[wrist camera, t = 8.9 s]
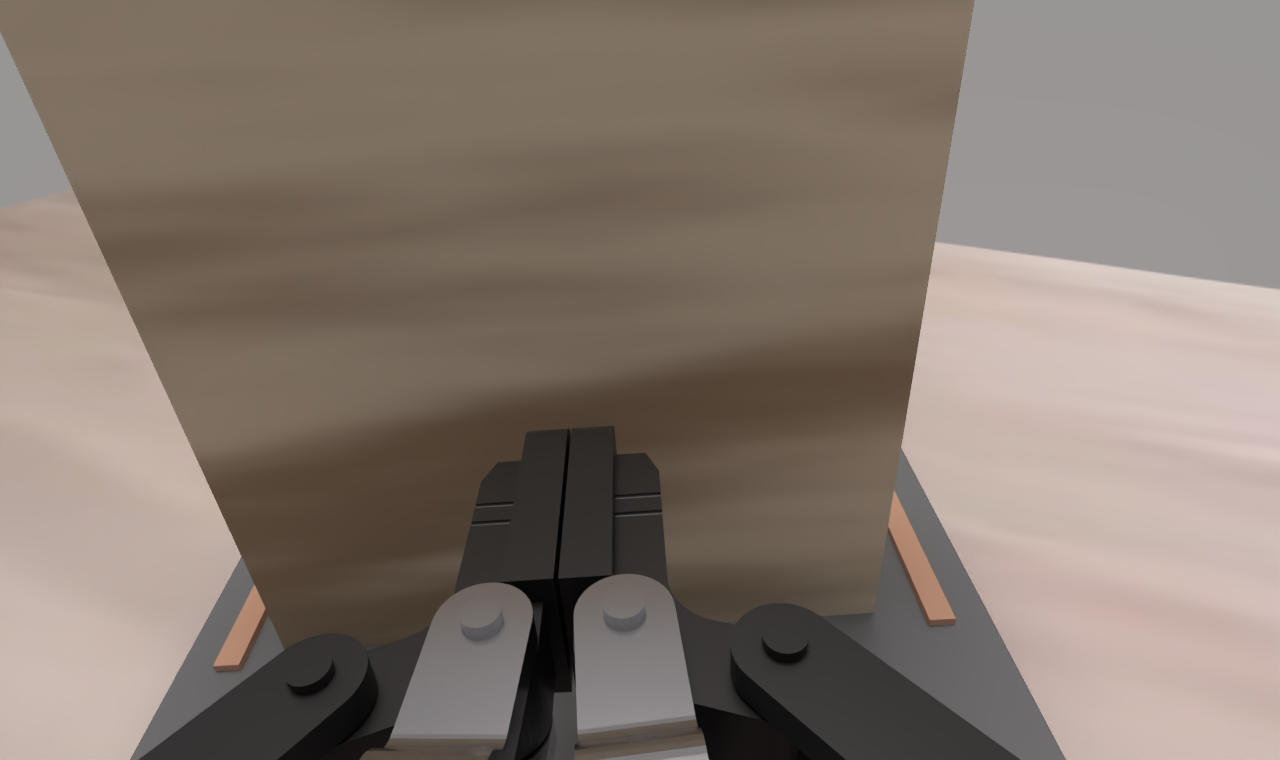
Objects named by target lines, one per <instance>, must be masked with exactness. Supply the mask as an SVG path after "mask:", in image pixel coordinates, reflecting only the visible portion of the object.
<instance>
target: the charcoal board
mask: <svg viewBox="0 0 1280 760" xmlns="http://www.w3.org/2000/svg"><path fill="white" fill-rule="evenodd" d="M821 617H822V618H824V619H825V620H827V621H828V622H829V623H831V624H832V625H834V626H835V627H836V628H838V629H839V630H841V631H842V632H843V633H845V634H846V635H847V636H849V637H850V638H852V639H853V640H854V641H856V642H857V643H859V644H860V645H861V646H863V647H864V648H866V649H867V650H868V651H870V652H871V653H873V654H874V655H875V656H877V657H878V658H880V659H881V660H882V661H884V662H885V663H887V664H888V665H889V666H891V667H892V668H893V669H895V670H896V671H898V672H899V673H900V674H902V675H903V676H905V677H906V678H907V679H909V680H910V681H912V682H913V683H914V684H916V685H917V686H919V687H920V688H921V689H923V690H924V691H926V692H927V693H928V694H930V695H931V696H933V697H934V698H935V699H937V700H938V701H939V702H941V703H942V704H944V705H945V706H946V707H948V708H949V709H951V710H952V711H953V712H955V713H956V714H958V715H959V716H960V717H962V718H963V719H965V720H966V721H967V722H969V723H970V724H972V725H973V726H974V727H976V728H977V729H979V730H980V731H981V732H983V733H984V734H985V735H987V736H988V737H990V738H991V739H992V740H994V741H995V742H997V743H998V744H999V745H1001V746H1002V747H1004V748H1005V749H1006V750H1008V751H1009V752H1011V753H1012V754H1013V755H1015V756H1016V757H1018V758H1019V759H1020V760H1066V759H1065V757H1064V755H1063V753H1062V752H1061V750H1060V748H1059V746H1058V744H1057V742H1056V740H1055V738H1054V736H1053V735H1052V733H1051V731H1050V729H1049V727H1048V725H1047V723H1046V721H1045V719H1044V718H1043V716H1042V714H1041V712H1040V710H1039V708H1038V706H1037V704H1036V702H1035V700H1034V699H1033V697H1032V695H1031V693H1030V691H1029V689H1028V687H1027V685H1026V683H1025V682H1024V680H1023V678H1022V676H1021V674H1020V672H1019V670H1018V668H1017V666H1016V665H1015V663H1014V661H1013V659H1012V657H1011V655H1010V653H1009V651H1008V649H1007V647H1006V646H1005V644H1004V642H1003V640H1002V638H1001V636H1000V634H999V632H998V630H997V629H996V627H995V625H994V623H993V621H992V619H991V617H990V615H989V613H988V612H987V610H986V608H985V606H984V604H983V602H982V600H981V598H980V596H979V595H978V593H977V591H976V589H975V587H974V585H973V583H972V581H971V579H970V577H969V576H968V574H967V572H966V570H965V568H964V566H963V564H962V562H961V560H960V559H959V557H958V555H957V553H956V551H955V549H954V547H953V545H952V543H951V542H950V540H949V538H948V536H947V534H946V532H945V530H944V528H943V526H942V524H941V523H940V521H939V519H938V517H937V515H936V513H935V511H934V509H933V507H932V506H931V504H930V502H929V500H928V498H927V496H926V494H925V492H924V490H923V489H922V487H921V485H920V483H919V481H918V479H917V477H916V475H915V473H914V472H913V470H912V468H911V466H910V464H909V462H908V460H907V458H906V456H905V454H904V453H903V451H902V449H901V451H900V457H899V463H898V469H897V475H896V481H895V487H894V493H893V499H892V505H891V512H890V518H889V524H888V530H887V536H886V542H885V548H884V554H883V560H882V566H881V572H880V578H879V584H878V591H877V597H876V603H875V609H874V613H863V614H848V615H833V616H821ZM727 623H729V624H734V625H735V624H736V623H737V622H727ZM380 646H383V645H379V646H364V648H365V649H366V651H368V650H371V649H374V648H377V647H380ZM283 651H284V647H283V645H282V643H281V641H280V639H279V637H278V634H277V632H276V630H275V628H274V626H273V623H272V621H271V619H270V617H269V615H268V613H267V610H266V608H265V606H264V604H263V602H262V600H261V597H260V595H259V593H258V591H257V589H256V587H255V584H254V582H253V580H252V578H251V576H250V573H249V571H248V569H247V567H246V565H245V563H244V560H243V558H242V557H241V559H240V561H239V562H238V564H237V566H236V568H235V570H234V571H233V573H232V575H231V577H230V579H229V581H228V582H227V584H226V586H225V588H224V590H223V592H222V593H221V595H220V597H219V599H218V601H217V602H216V604H215V606H214V608H213V610H212V612H211V613H210V615H209V617H208V619H207V621H206V622H205V624H204V626H203V628H202V630H201V632H200V633H199V635H198V637H197V639H196V641H195V643H194V644H193V646H192V648H191V650H190V652H189V653H188V655H187V657H186V659H185V661H184V663H183V664H182V666H181V668H180V670H179V672H178V673H177V675H176V677H175V679H174V681H173V683H172V684H171V686H170V688H169V690H168V692H167V694H166V695H165V697H164V699H163V701H162V703H161V704H160V706H159V708H158V710H157V712H156V714H155V715H154V717H153V719H152V721H151V723H150V724H149V726H148V728H147V730H146V732H145V734H144V735H143V737H142V739H141V741H140V743H139V745H138V746H137V748H136V750H135V752H134V754H133V755H132V757H131V759H130V760H139V759H140V758H141V757H143V756H144V755H145V754H147V753H148V752H149V751H151V750H152V749H153V748H155V747H156V746H157V745H159V744H160V743H161V742H163V741H164V740H165V739H167V738H168V737H169V736H171V735H172V734H173V733H175V732H176V731H177V730H179V729H180V728H181V727H183V726H184V725H185V724H187V723H188V722H189V721H191V720H192V719H193V718H195V717H196V716H197V715H199V714H200V713H201V712H203V711H204V710H205V709H207V708H208V707H209V706H211V705H212V704H213V703H215V702H216V701H217V700H219V699H220V698H221V697H223V696H224V695H225V694H227V693H228V692H229V691H231V690H232V689H233V688H235V687H236V686H237V685H239V684H240V683H241V682H243V681H244V680H245V679H247V678H248V677H249V676H251V675H252V674H253V673H255V672H256V671H257V670H259V669H260V668H261V667H263V666H264V665H265V664H267V663H268V662H269V661H271V660H272V659H273V658H275V657H276V656H277V655H279V654H280V653H281V652H283ZM553 720H554V725H555V730H556V737H557V741H556V750H555V757H554V760H574V747H575V744H577V742H578V733H577V703H576V687H575V680H574V674H573V681H572V692H561V693H554V702H553Z"/></svg>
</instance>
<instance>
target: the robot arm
mask: <svg viewBox="0 0 1280 760" xmlns="http://www.w3.org/2000/svg"><path fill="white" fill-rule="evenodd" d="M471 524H472V525H471V526H470V529H469V533H468V537H467V541H466V545H465V550H464V554H463V558H462V562H461V566H460V570H459V574H458V578H457V582H456V587H455V591H454V594H453V596H451V597H450V598H449V599H448V600H446V601H445V602H444V603H443V604H442V605H441V606H440V608H439V609H438V611H437V612H436V613H435V615H434V618H433V620H432V622H431V624H430V625H429V626H427V627H426V628H424V629H423V630H421V631H419V632H417V633H415V634H413V635H411V636H409V637H407V638H404V639H401V640H398V641H395V642H392V643H389V644H386V645H383V646H380V647H377V648H374V649H371V650H368V651H366V649H365V648H364V646H363V644H362V643H360V642H359V641H358V640H357V639H355V638H353V637H352V636H349V635H345V634H339V633H327V634H320V635H316V636H312V637H309V638H306V639H304V640H301V641H299V642H297V643H295V644H294V645H292V646H290V647H289V648H287V649H286V650H284V651H283V652H281V653H280V654H279V655H277V656H276V657H275V658H273V659H272V660H271V661H269V662H268V663H267V664H265V665H264V666H263V667H261V668H260V669H259V670H257V671H256V672H255V673H253V674H252V675H251V676H249V677H248V678H247V679H245V680H244V681H243V682H241V683H240V684H239V685H237V686H236V687H235V688H233V689H232V690H231V691H229V692H228V693H227V694H225V695H224V696H223V697H221V698H220V699H219V700H217V701H216V702H215V703H213V704H212V705H211V706H209V707H208V708H207V709H205V710H204V711H203V712H201V713H200V714H199V715H197V716H196V717H195V718H193V719H192V720H191V721H189V722H188V723H187V724H185V725H184V726H183V727H181V728H180V729H179V730H177V731H176V732H175V733H173V734H172V735H171V736H169V737H168V738H167V739H165V740H164V741H163V742H161V743H160V744H159V745H157V746H156V747H155V748H153V749H152V750H151V751H149V752H148V753H147V754H145V755H144V756H143V757H141V758H140V759H139V760H554V757H555V750H556V741H557V737H556V730H555V725H554V720H553V702H554V693H561V692H572V681H573V674H574V680H575V687H576V703H577V733H578V742H577V744H575V747H574V760H1020V759H1019V758H1018V757H1016V756H1015V755H1013V754H1012V753H1011V752H1009V751H1008V750H1006V749H1005V748H1004V747H1002V746H1001V745H999V744H998V743H997V742H995V741H994V740H992V739H991V738H990V737H988V736H987V735H985V734H984V733H983V732H981V731H980V730H979V729H977V728H976V727H974V726H973V725H972V724H970V723H969V722H967V721H966V720H965V719H963V718H962V717H960V716H959V715H958V714H956V713H955V712H953V711H952V710H951V709H949V708H948V707H946V706H945V705H944V704H942V703H941V702H939V701H938V700H937V699H935V698H934V697H933V696H931V695H930V694H928V693H927V692H926V691H924V690H923V689H921V688H920V687H919V686H917V685H916V684H914V683H913V682H912V681H910V680H909V679H907V678H906V677H905V676H903V675H902V674H900V673H899V672H898V671H896V670H895V669H893V668H892V667H891V666H889V665H888V664H887V663H885V662H884V661H882V660H881V659H880V658H878V657H877V656H875V655H874V654H873V653H871V652H870V651H868V650H867V649H866V648H864V647H863V646H861V645H860V644H859V643H857V642H856V641H854V640H853V639H852V638H850V637H849V636H847V635H846V634H845V633H843V632H842V631H841V630H839V629H838V628H836V627H835V626H834V625H832V624H831V623H829V622H828V621H827V620H825V619H824V618H822V617H821V616H820V615H818V614H816V613H815V612H813V611H811V610H809V609H807V608H804V607H801V606H798V605H794V604H788V603H772V604H766V605H762V606H759V607H756V608H754V609H752V610H750V611H748V612H747V613H745V614H744V615H743V616H742V617H741V618H740V619H739V620H738V621H737V623H736V624H735V625H734V624H729V623H725V622H720V621H715V620H711V619H708V618H704V617H702V616H699V615H697V614H695V613H693V612H691V611H690V610H688V609H687V608H685V607H684V606H683V605H682V604H680V602H679V601H678V600H677V599H676V598H675V597H674V595H673V593H672V592H671V590H670V587H669V584H668V579H667V566H666V553H665V540H664V527H663V514H662V501H661V489H660V476H659V470H658V468H657V467H656V466H655V465H654V463H653V462H652V461H651V459H650V458H649V457H648V455H647V454H646V453H632V454H617V449H616V439H615V430H614V426H602V427H587V428H572V431H571V432H570V429H554V430H539V431H527V433H526V436H525V442H524V447H523V453H522V459H521V461H508V462H497V464H496V465H495V466H494V467H493V468H492V470H491V471H490V472H489V473H488V474H487V475H486V477H485V478H484V479H483V480H482V481H481V484H480V488H479V492H478V496H477V500H476V508H474V513H473V517H472V521H471Z"/></svg>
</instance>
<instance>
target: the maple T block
mask: <svg viewBox="0 0 1280 760" xmlns="http://www.w3.org/2000/svg"><path fill="white" fill-rule="evenodd" d="M974 1H975V0H0V32H1V34H2V36H3V38H4V41H5V43H6V45H7V47H8V49H9V51H10V53H11V56H12V58H13V60H14V62H15V64H16V67H17V69H18V71H19V73H20V75H21V77H22V79H23V82H24V84H25V86H26V88H27V90H28V93H29V95H30V97H31V99H32V101H33V103H34V106H35V108H36V110H37V112H38V114H39V117H40V119H41V121H42V123H43V125H44V127H45V130H46V132H47V134H48V136H49V138H50V141H51V142H52V145H53V147H54V149H55V151H56V154H57V156H58V158H59V160H60V162H61V165H62V167H63V169H64V171H65V173H66V175H67V177H68V180H69V182H70V184H71V186H72V188H73V191H74V193H75V195H76V197H77V199H78V202H79V204H80V206H81V208H82V210H83V212H84V215H85V217H86V219H87V221H88V223H89V225H90V228H91V230H92V232H93V234H94V236H95V238H96V241H97V243H98V245H99V247H100V249H101V252H102V254H103V256H104V258H105V260H106V262H107V265H108V267H109V269H110V271H111V273H112V275H113V278H114V280H115V282H116V284H117V286H118V289H119V291H120V293H121V295H122V297H123V299H124V302H125V304H126V306H127V308H128V310H129V312H130V315H131V317H132V319H133V321H134V323H135V325H136V328H137V330H138V332H139V334H140V336H141V339H142V341H143V343H144V345H145V347H146V349H147V352H148V354H149V356H150V358H151V360H152V362H153V365H154V367H155V369H156V371H157V373H158V376H159V378H160V380H161V382H162V384H163V386H164V389H165V391H166V393H167V395H168V397H169V399H170V402H171V404H172V406H173V408H174V410H175V412H176V415H177V417H178V419H179V421H180V423H181V426H182V428H183V430H184V432H185V434H186V436H187V439H188V441H189V443H190V445H191V447H192V449H193V452H194V454H195V456H196V458H197V460H198V463H199V465H200V467H201V469H202V471H203V473H204V476H205V478H206V480H207V482H208V484H209V486H210V489H211V491H212V493H213V495H214V497H215V500H216V502H217V504H218V506H219V508H220V510H221V513H222V515H223V517H224V519H225V521H226V523H227V526H228V528H229V530H230V532H231V534H232V536H233V539H234V541H235V543H236V545H237V547H238V550H239V552H240V554H241V556H242V558H243V560H244V563H245V565H246V567H247V569H248V571H249V573H250V576H251V578H252V580H253V582H254V584H255V587H256V589H257V591H258V593H259V595H260V597H261V600H262V602H263V604H264V606H265V608H266V610H267V613H268V615H269V617H270V619H271V621H272V623H273V626H274V628H275V630H276V632H277V634H278V637H279V639H280V641H281V643H282V645H283V647H284V650H286V649H287V648H289V647H290V646H292V645H294V644H295V643H297V642H299V641H301V640H304V639H306V638H309V637H312V636H316V635H320V634H327V633H339V634H345V635H349V636H352V637H353V638H355V639H357V640H358V641H359V642H360V643H362V644H363V646H379V645H386V644H389V643H392V642H395V641H398V640H401V639H404V638H407V637H409V636H411V635H413V634H415V633H417V632H419V631H421V630H423V629H424V628H426V627H427V626H429V625H430V624H431V622H432V620H433V618H434V615H435V613H436V612H437V611H438V609H439V608H440V606H441V605H442V604H443V603H444V602H445V601H446V600H448V599H449V598H450V597H451V596H453V594H454V591H455V587H456V582H457V578H458V574H459V570H460V566H461V562H462V558H463V554H464V550H465V545H466V541H467V537H468V533H469V529H470V526H471V525H472V524H471V521H472V517H473V513H474V508H476V500H477V496H478V492H479V488H480V484H481V481H482V480H483V479H484V478H485V477H486V475H487V474H488V473H489V472H490V471H491V470H492V468H493V467H494V466H495V465H496V464H497V462H508V461H521V459H522V453H523V447H524V442H525V436H526V433H527V431H539V430H554V429H570V432H571V431H572V428H587V427H602V426H614V430H615V439H616V449H617V454H632V453H646V454H647V455H648V457H649V458H650V459H651V461H652V462H653V463H654V465H655V466H656V467H657V468H658V470H659V476H660V489H661V501H662V514H663V527H664V540H665V553H666V566H667V579H668V584H669V587H670V590H671V592H672V593H673V595H674V597H675V598H676V599H677V600H678V601H679V602H680V604H682V605H683V606H684V607H685V608H687V609H688V610H690V611H691V612H693V613H695V614H697V615H699V616H702V617H704V618H708V619H711V620H715V621H720V622H725V623H727V622H737V621H738V620H739V619H740V618H741V617H742V616H743V615H744V614H745V613H747V612H748V611H750V610H752V609H754V608H756V607H759V606H762V605H766V604H772V603H788V604H794V605H798V606H801V607H804V608H807V609H809V610H811V611H813V612H815V613H816V614H818V615H820V616H833V615H848V614H863V613H874V609H875V603H876V597H877V591H878V584H879V578H880V572H881V566H882V560H883V554H884V548H885V542H886V536H887V530H888V524H889V518H890V512H891V505H892V499H893V493H894V487H895V481H896V475H897V469H898V463H899V457H900V451H901V445H902V439H903V432H904V426H905V420H906V414H907V408H908V402H909V396H910V390H911V384H912V378H913V372H914V366H915V360H916V353H917V347H918V341H919V335H920V329H921V323H922V317H923V311H924V305H925V299H926V293H927V287H928V280H929V274H930V268H931V262H932V256H933V250H934V244H935V237H936V232H937V226H938V220H939V213H940V208H941V201H942V195H943V189H944V183H945V177H946V170H947V165H948V159H949V153H950V147H951V140H952V135H953V128H954V122H955V116H956V110H957V104H958V98H959V92H960V86H961V80H962V74H963V67H964V62H965V56H966V49H967V43H968V37H969V31H970V25H971V19H972V13H973V7H974Z"/></svg>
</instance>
